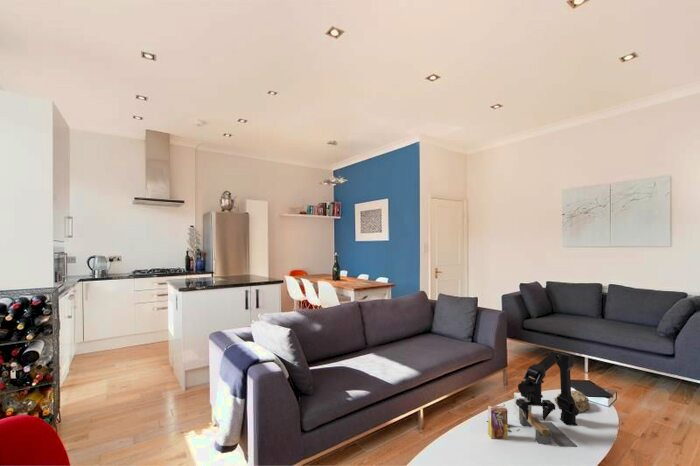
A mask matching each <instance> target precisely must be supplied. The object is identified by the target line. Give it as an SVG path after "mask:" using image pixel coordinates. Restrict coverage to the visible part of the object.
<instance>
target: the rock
mask: <svg viewBox="0 0 700 466" xmlns="http://www.w3.org/2000/svg"><path fill="white" fill-rule="evenodd" d="M560 394H561V392H560V393H558V394H557V396H556V397H554V398H553V399H554V402H555V405H558V403H557V397H558V396H559V395H560ZM571 396H572V397H573V399H574V401H575V406H576V407H577V408H578V410H579V413H581V412H582V413H584V412H586V410H590V409H591V405H590V403H589V401H590V399H589V398H588V397H587V396H586V395H585V394H584V393H583V392H581V391H577V390H571Z"/></svg>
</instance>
